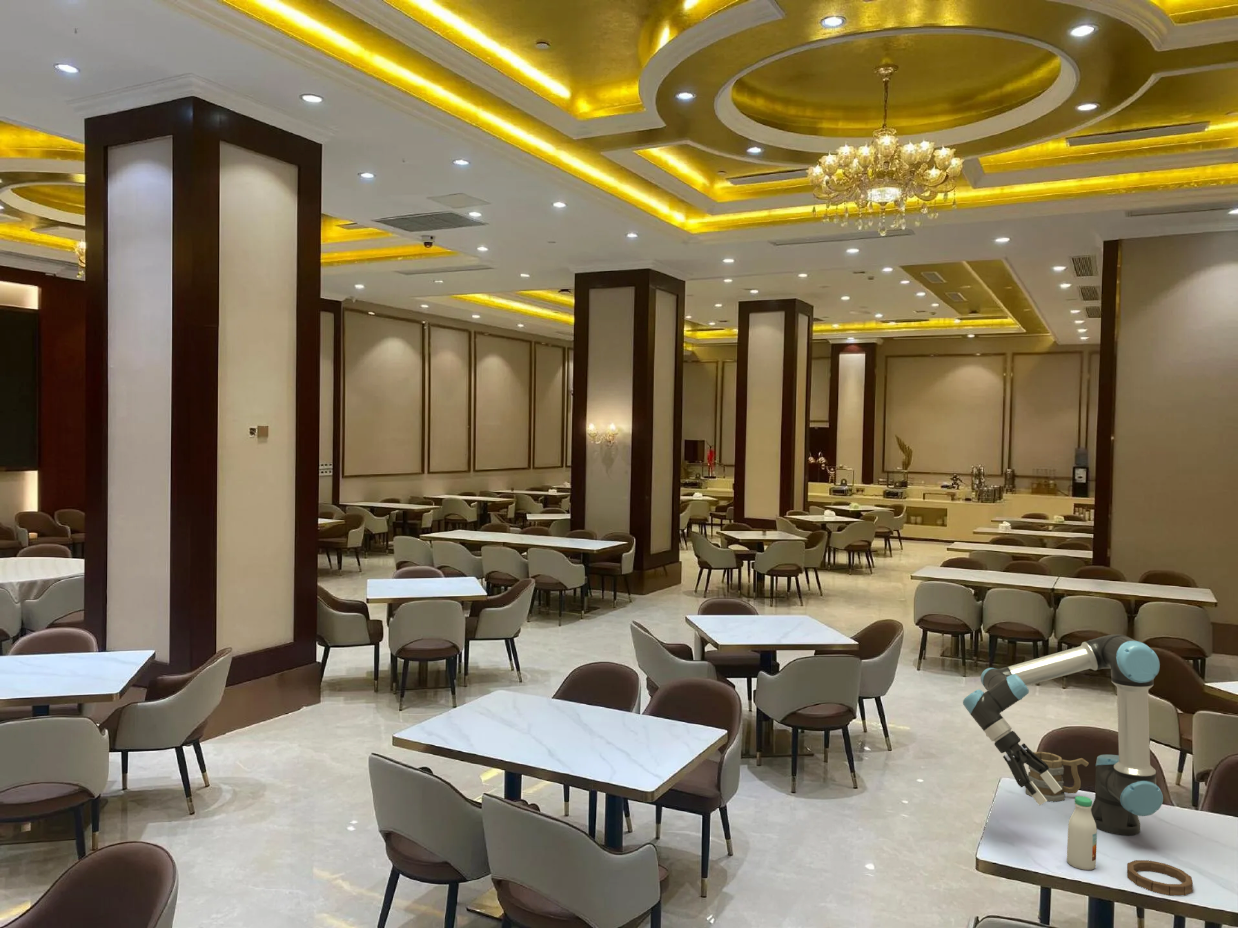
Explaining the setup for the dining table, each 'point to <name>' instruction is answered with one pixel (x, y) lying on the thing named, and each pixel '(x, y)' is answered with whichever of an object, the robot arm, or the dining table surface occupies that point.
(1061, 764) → the tankard
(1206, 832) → the dining table surface
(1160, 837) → the dining table surface
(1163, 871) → the walnut ring
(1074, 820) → the milk bottle
